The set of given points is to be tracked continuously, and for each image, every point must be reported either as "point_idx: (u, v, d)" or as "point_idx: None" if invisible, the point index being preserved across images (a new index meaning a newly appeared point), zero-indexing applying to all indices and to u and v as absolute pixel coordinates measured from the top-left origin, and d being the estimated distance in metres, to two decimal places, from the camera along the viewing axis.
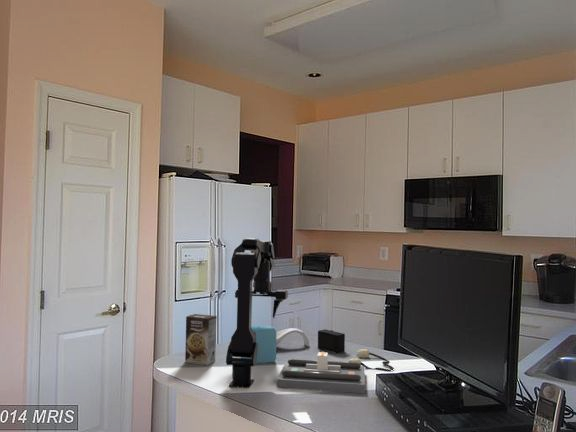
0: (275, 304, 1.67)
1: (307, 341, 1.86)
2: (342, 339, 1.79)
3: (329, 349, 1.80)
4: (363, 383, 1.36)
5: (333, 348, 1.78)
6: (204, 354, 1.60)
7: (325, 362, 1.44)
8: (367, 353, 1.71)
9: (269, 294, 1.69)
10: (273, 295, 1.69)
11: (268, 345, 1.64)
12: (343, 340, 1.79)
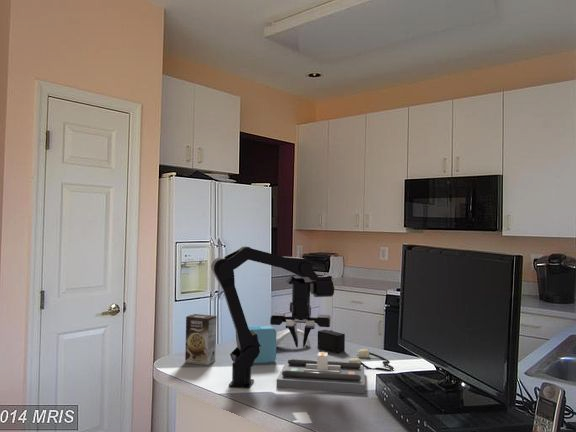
0: (306, 332, 1.44)
1: (308, 341, 1.86)
2: (342, 339, 1.78)
3: (329, 349, 1.79)
4: (363, 383, 1.36)
5: (333, 348, 1.78)
6: (204, 354, 1.60)
7: (325, 362, 1.44)
8: (367, 353, 1.71)
9: (298, 320, 1.47)
10: None
11: (268, 345, 1.64)
12: (343, 340, 1.79)
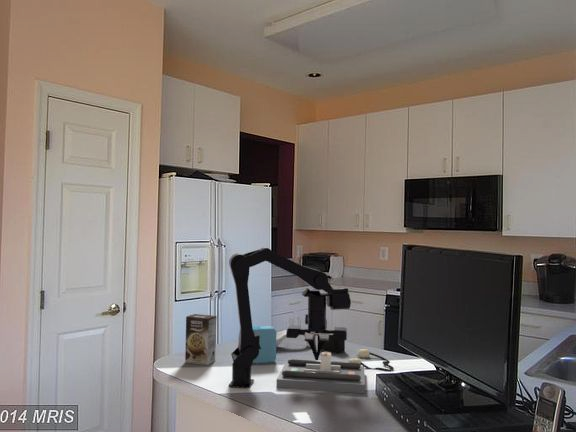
0: (320, 345, 1.44)
1: None
2: None
3: (329, 349, 1.79)
4: (363, 383, 1.36)
5: (333, 349, 1.78)
6: (204, 354, 1.60)
7: (328, 362, 1.44)
8: (367, 353, 1.71)
9: None
10: None
11: (268, 345, 1.64)
12: (343, 340, 1.79)
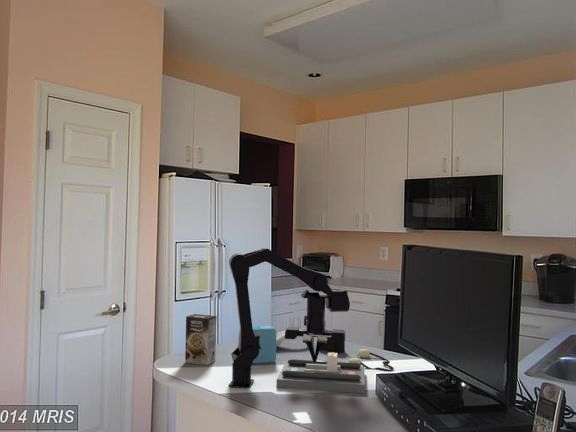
0: (318, 346, 1.44)
1: None
2: None
3: (329, 350, 1.79)
4: (363, 383, 1.36)
5: (334, 349, 1.77)
6: (204, 354, 1.60)
7: (335, 363, 1.43)
8: (367, 353, 1.71)
9: None
10: None
11: (268, 345, 1.64)
12: None
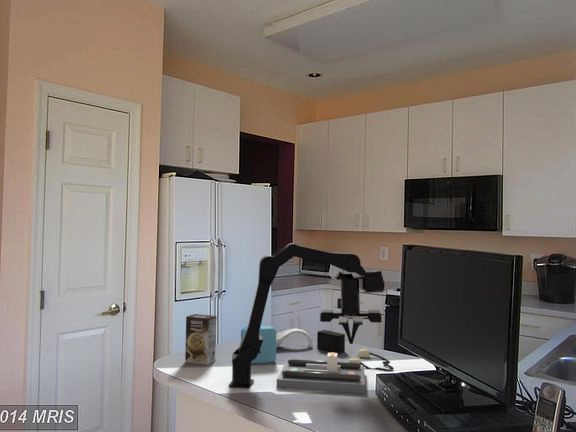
0: (354, 328, 1.42)
1: (310, 342, 1.85)
2: (342, 339, 1.78)
3: (329, 350, 1.79)
4: (363, 383, 1.36)
5: (334, 349, 1.77)
6: (204, 354, 1.60)
7: (335, 363, 1.43)
8: (367, 353, 1.71)
9: None
10: None
11: (268, 345, 1.64)
12: (343, 340, 1.78)
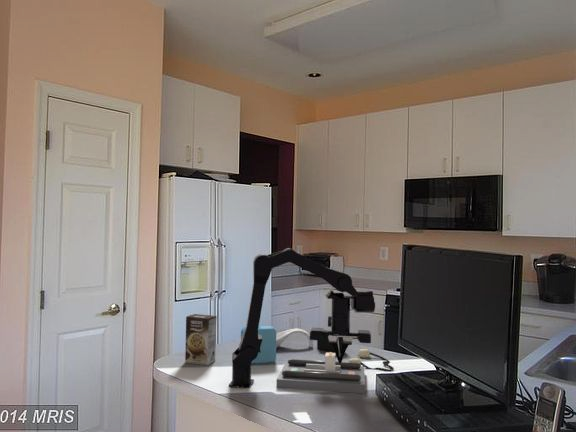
0: (343, 347, 1.43)
1: (311, 342, 1.85)
2: (342, 340, 1.78)
3: (329, 350, 1.78)
4: (363, 383, 1.36)
5: None
6: (204, 354, 1.60)
7: (333, 362, 1.43)
8: (368, 353, 1.71)
9: (335, 335, 1.45)
10: None
11: (268, 345, 1.64)
12: None
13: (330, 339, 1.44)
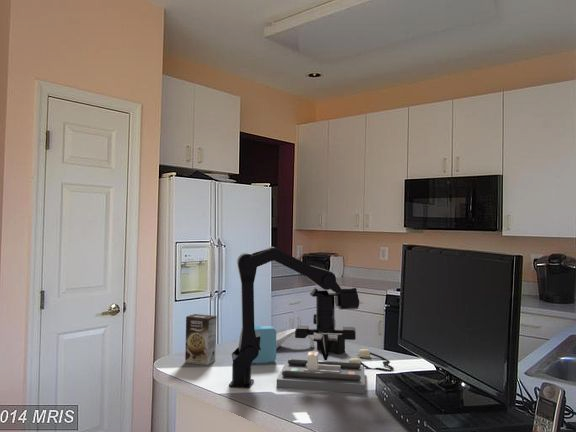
0: (329, 345, 1.43)
1: (312, 342, 1.85)
2: (343, 340, 1.78)
3: None
4: (363, 383, 1.36)
5: (334, 349, 1.77)
6: (204, 354, 1.60)
7: (315, 361, 1.44)
8: (368, 353, 1.71)
9: None
10: None
11: (268, 345, 1.64)
12: (343, 341, 1.78)
13: (315, 337, 1.44)
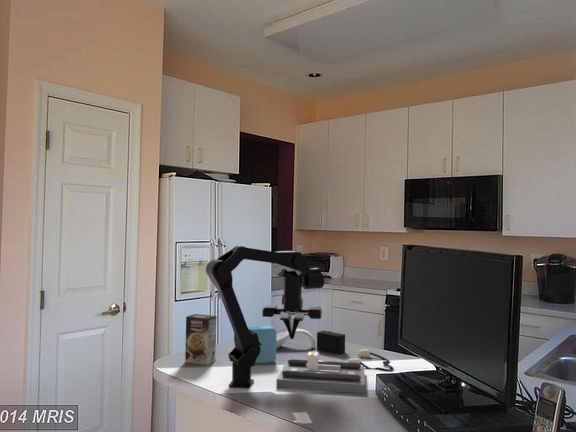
0: (295, 323, 1.47)
1: (313, 342, 1.84)
2: (343, 340, 1.77)
3: (330, 350, 1.78)
4: (363, 383, 1.36)
5: (334, 349, 1.76)
6: (204, 354, 1.60)
7: (315, 361, 1.44)
8: (368, 353, 1.71)
9: (287, 312, 1.49)
10: None
11: (268, 345, 1.64)
12: (344, 341, 1.78)
13: (282, 316, 1.48)
